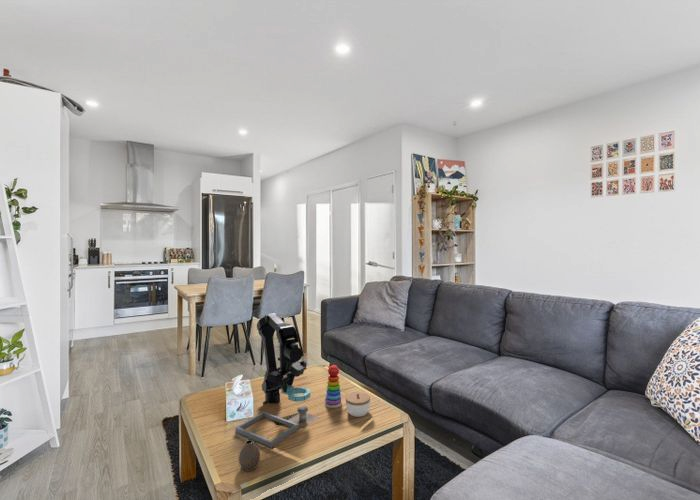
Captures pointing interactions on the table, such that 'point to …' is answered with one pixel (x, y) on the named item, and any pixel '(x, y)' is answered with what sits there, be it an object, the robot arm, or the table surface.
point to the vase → (249, 456)
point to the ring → (296, 398)
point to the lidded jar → (358, 403)
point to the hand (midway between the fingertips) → (287, 391)
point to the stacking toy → (333, 388)
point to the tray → (260, 439)
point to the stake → (303, 417)
